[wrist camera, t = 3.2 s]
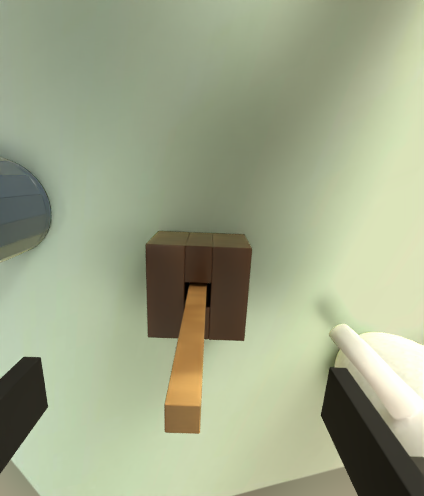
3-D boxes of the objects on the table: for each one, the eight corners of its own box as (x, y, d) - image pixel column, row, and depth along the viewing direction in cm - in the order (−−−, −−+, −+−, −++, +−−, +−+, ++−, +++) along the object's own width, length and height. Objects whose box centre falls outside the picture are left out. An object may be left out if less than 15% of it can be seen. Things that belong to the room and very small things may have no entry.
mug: (271, 333, 27) (323, 466, 15) (359, 265, 25) (504, 353, 13) (353, 415, 30) (455, 586, 18) (437, 360, 28) (619, 509, 16)
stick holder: (244, 234, 24) (252, 248, 20) (238, 311, 27) (244, 341, 22) (158, 230, 24) (145, 244, 20) (159, 308, 27) (147, 337, 22)
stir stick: (207, 266, 25) (201, 405, 10) (206, 279, 26) (199, 434, 10) (193, 265, 25) (164, 404, 10) (192, 279, 26) (164, 432, 10)
